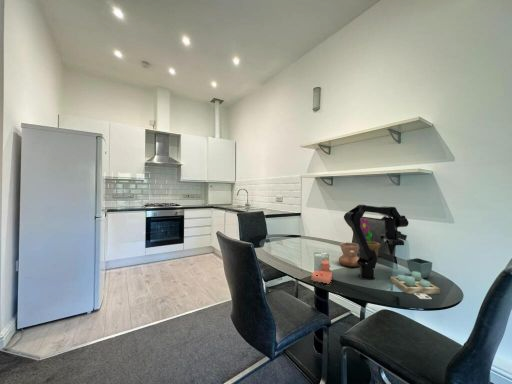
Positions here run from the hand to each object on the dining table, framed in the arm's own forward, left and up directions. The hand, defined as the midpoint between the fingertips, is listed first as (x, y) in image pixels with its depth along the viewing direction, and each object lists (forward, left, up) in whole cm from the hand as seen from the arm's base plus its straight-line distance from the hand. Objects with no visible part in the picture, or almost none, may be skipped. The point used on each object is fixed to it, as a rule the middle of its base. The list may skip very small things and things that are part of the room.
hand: (390, 254), depth 131 cm
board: (+2, -18, -12) cm, 22 cm away
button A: (-2, -14, -12) cm, 19 cm away
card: (0, -28, -12) cm, 31 cm away
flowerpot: (+3, +38, -12) cm, 40 cm away
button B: (-2, -21, -10) cm, 23 cm away
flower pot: (+14, -3, -12) cm, 19 cm away
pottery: (-41, -7, -12) cm, 43 cm away
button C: (+5, -14, -10) cm, 18 cm away
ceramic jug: (-18, +18, -12) cm, 28 cm away
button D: (+5, -21, -12) cm, 25 cm away
